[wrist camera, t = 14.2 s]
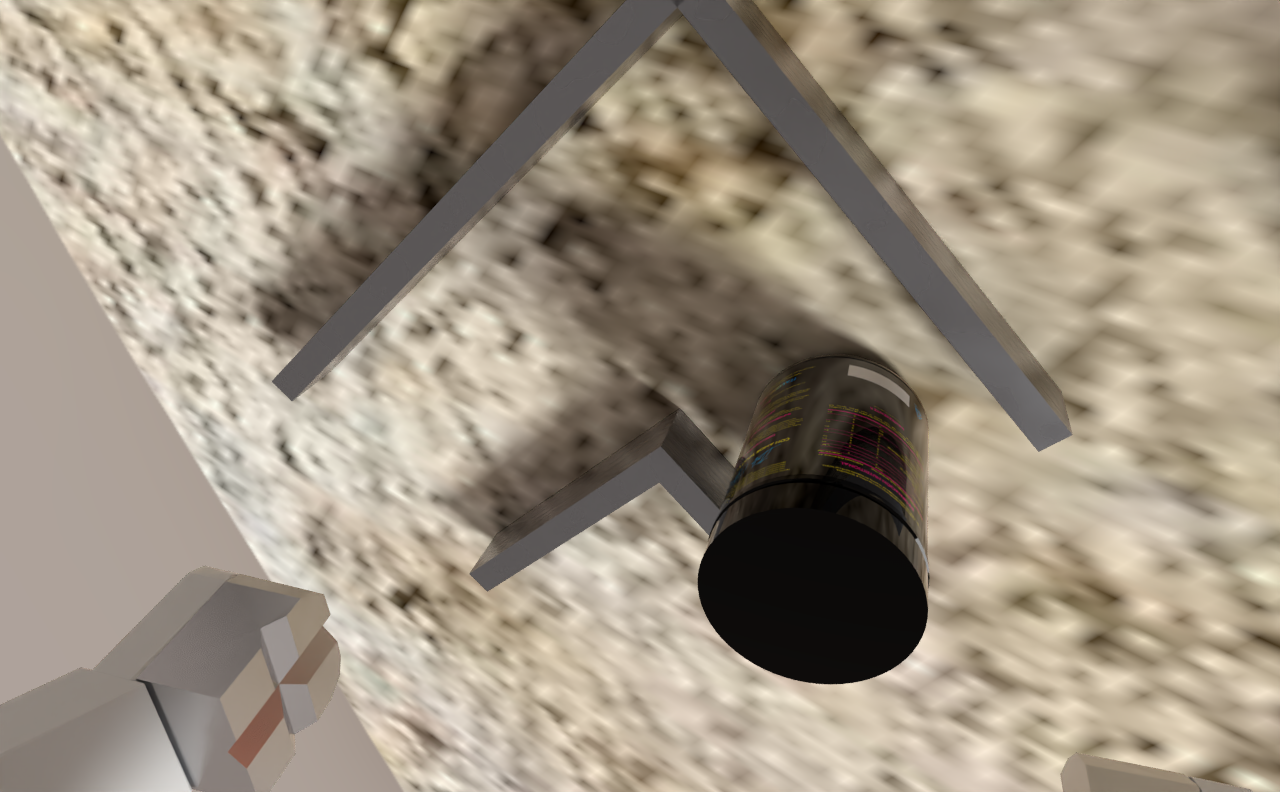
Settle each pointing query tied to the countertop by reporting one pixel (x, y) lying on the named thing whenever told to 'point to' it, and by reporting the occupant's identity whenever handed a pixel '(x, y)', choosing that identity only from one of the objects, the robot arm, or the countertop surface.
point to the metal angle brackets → (675, 443)
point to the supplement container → (825, 526)
